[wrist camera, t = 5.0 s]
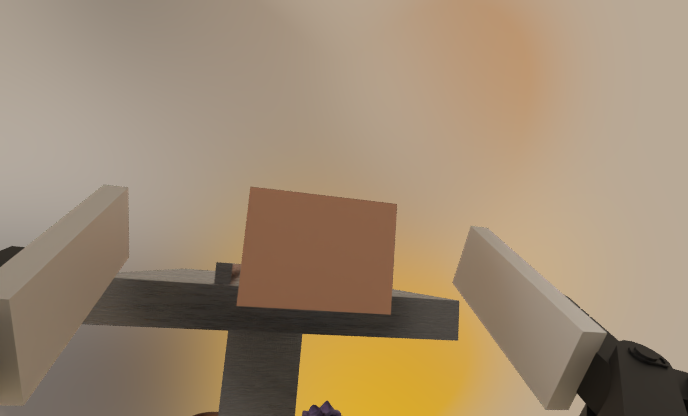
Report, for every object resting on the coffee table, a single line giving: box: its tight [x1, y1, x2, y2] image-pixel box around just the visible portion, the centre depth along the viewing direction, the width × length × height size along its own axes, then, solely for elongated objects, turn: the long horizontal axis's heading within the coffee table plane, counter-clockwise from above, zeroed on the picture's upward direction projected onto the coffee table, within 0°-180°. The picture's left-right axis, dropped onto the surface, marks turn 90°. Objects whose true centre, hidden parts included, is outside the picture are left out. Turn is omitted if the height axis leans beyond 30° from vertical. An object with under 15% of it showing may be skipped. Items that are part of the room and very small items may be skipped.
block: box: [237, 187, 397, 315], centre depth 30 cm, size 40×4×3 cm, turn 13°
